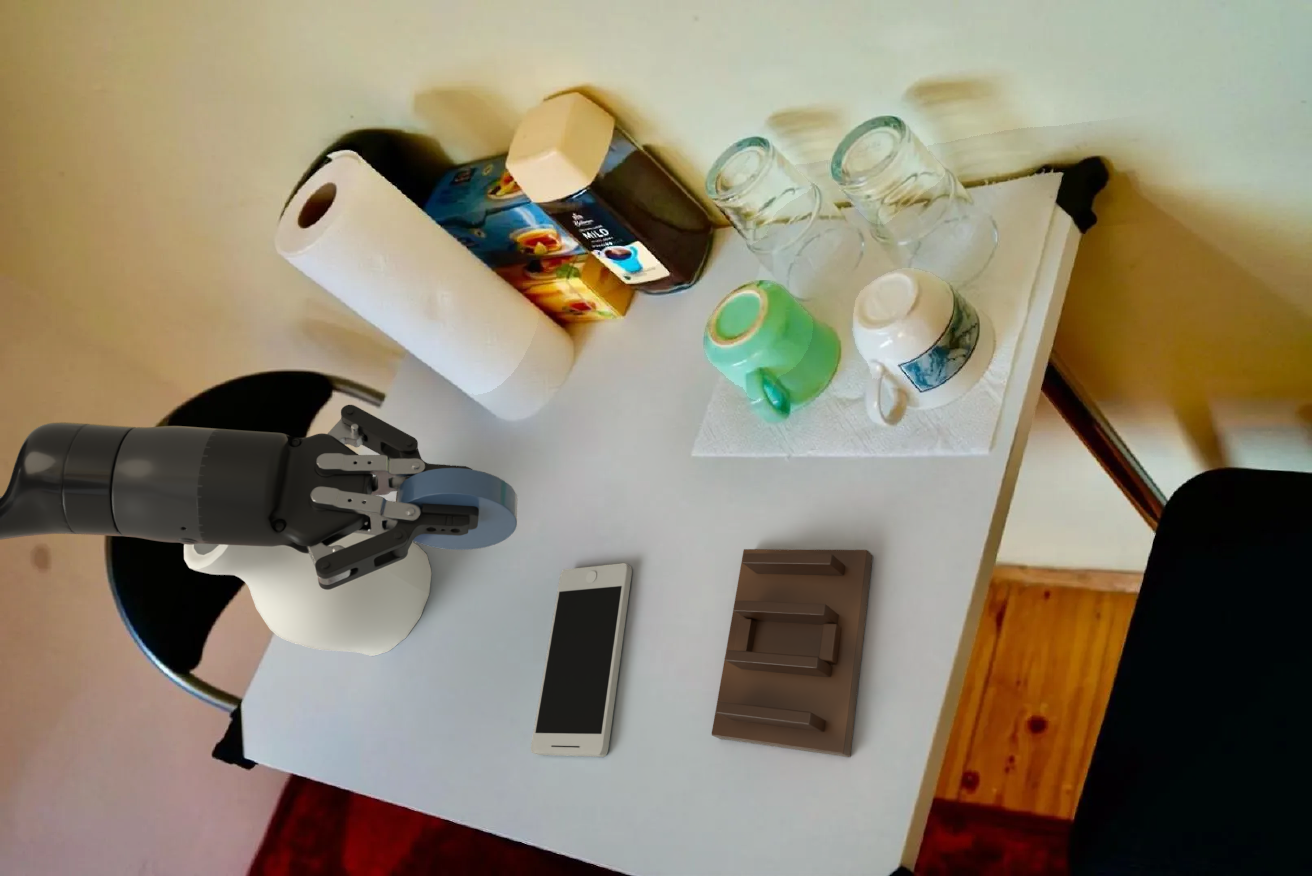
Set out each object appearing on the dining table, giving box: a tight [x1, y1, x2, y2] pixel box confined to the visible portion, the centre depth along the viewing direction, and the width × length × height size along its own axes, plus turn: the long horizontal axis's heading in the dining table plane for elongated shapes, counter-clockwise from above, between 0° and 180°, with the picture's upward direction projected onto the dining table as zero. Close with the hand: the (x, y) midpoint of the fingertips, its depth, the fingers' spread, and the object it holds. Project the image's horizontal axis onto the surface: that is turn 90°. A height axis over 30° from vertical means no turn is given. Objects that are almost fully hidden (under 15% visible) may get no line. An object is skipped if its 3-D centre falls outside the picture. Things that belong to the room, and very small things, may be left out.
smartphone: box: [530, 562, 633, 758], centre depth 73 cm, size 7×15×1 cm, turn 172°
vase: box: [183, 533, 432, 657], centre depth 84 cm, size 14×14×20 cm
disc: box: [395, 468, 519, 551], centre depth 63 cm, size 2×8×8 cm, turn 93°
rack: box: [711, 548, 874, 758], centre depth 63 cm, size 14×10×4 cm
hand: (477, 500), depth 62 cm, fingers closed on disc, 2 cm apart
